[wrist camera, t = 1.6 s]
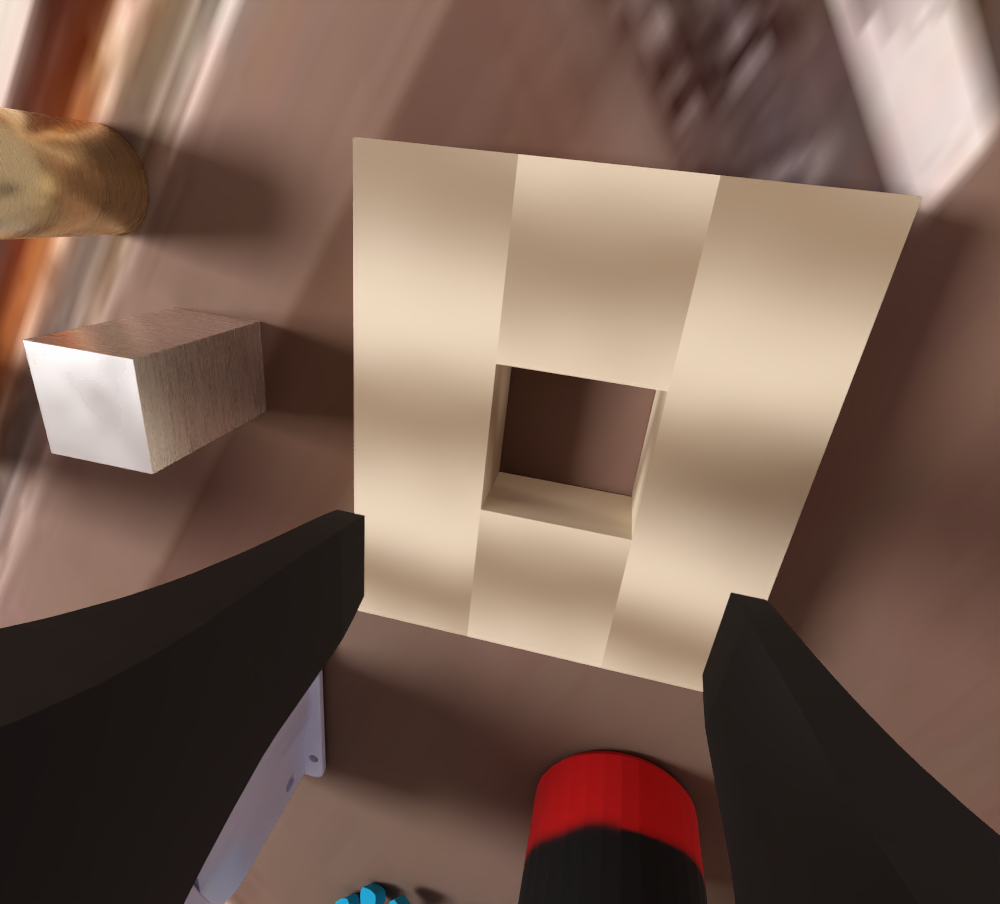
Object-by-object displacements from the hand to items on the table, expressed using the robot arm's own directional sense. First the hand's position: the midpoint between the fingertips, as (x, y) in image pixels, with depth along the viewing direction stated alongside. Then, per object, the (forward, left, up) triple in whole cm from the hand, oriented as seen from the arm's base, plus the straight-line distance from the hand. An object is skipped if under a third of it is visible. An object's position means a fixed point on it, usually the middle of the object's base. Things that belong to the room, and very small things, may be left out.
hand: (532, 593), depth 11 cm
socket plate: (0, 0, -10) cm, 10 cm away
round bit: (+6, +18, -10) cm, 21 cm away
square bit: (0, +14, -10) cm, 17 cm away
